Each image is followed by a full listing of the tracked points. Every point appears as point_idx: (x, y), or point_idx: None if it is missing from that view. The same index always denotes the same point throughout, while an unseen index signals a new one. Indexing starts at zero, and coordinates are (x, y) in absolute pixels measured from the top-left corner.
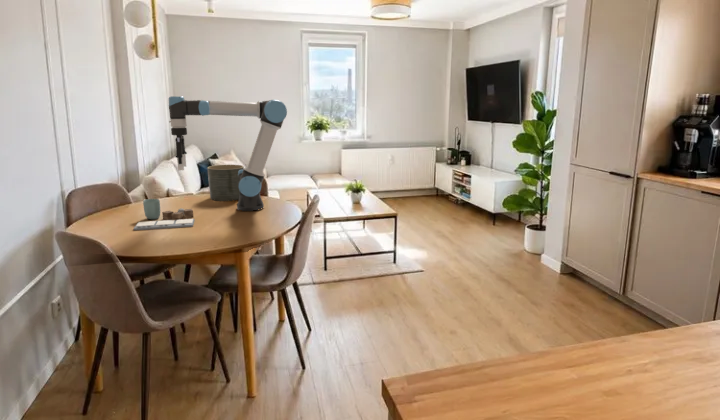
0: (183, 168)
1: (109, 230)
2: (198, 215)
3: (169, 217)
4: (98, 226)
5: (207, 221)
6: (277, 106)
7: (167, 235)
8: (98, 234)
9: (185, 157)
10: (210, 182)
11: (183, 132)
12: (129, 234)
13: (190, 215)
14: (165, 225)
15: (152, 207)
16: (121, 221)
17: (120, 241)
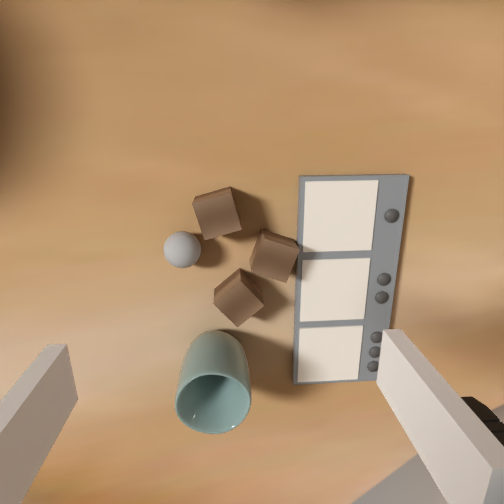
0: (409, 343)
1: (351, 440)
2: (196, 165)
3: (254, 288)
4: (287, 480)
5: (331, 111)
6: None
7: (495, 256)
8: (388, 454)
9: None
10: None
11: None
12: None
13: (234, 201)
14: (386, 283)
15: (249, 376)
16: (236, 437)
17: (497, 381)
